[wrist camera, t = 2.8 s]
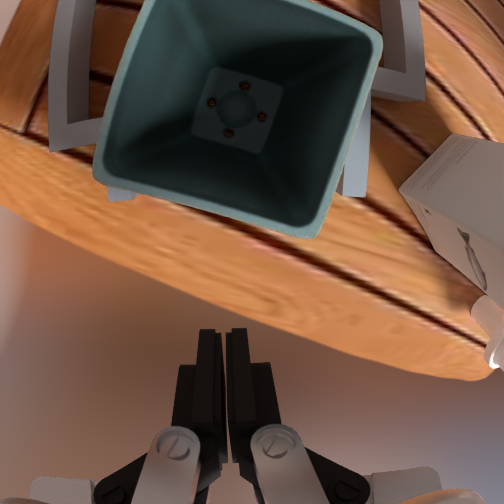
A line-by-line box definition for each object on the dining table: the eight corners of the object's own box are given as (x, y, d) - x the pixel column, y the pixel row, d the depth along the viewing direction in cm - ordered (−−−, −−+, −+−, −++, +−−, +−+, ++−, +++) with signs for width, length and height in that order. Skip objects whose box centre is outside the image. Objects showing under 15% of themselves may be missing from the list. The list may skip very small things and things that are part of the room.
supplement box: (393, 188, 19) (525, 265, 8) (451, 130, 17) (584, 163, 6) (432, 253, 22) (531, 342, 10) (482, 199, 20) (587, 257, 8)
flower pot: (191, 32, 14) (159, -33, 6) (323, 70, 16) (389, 34, 8) (151, 156, 18) (87, 182, 9) (280, 192, 19) (316, 244, 11)
